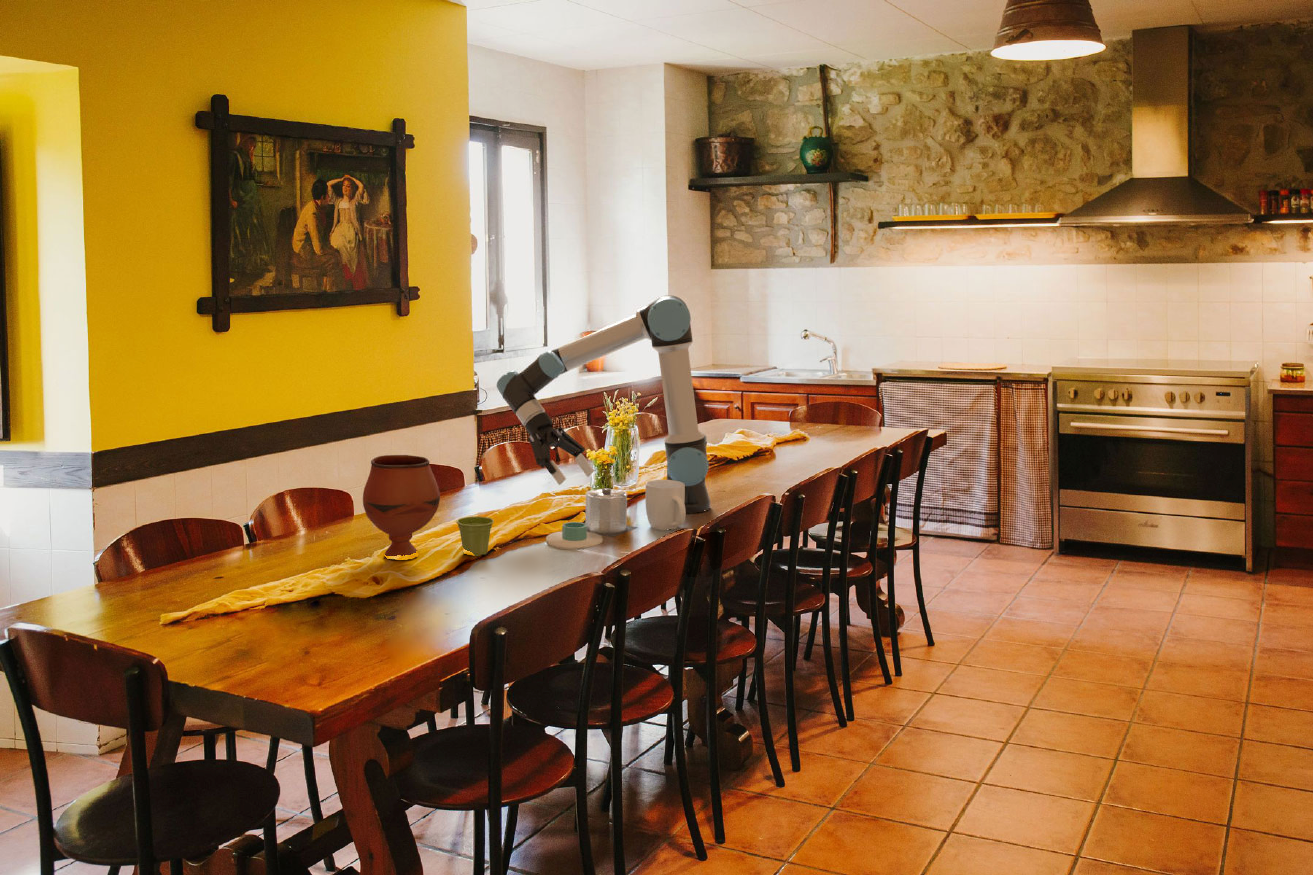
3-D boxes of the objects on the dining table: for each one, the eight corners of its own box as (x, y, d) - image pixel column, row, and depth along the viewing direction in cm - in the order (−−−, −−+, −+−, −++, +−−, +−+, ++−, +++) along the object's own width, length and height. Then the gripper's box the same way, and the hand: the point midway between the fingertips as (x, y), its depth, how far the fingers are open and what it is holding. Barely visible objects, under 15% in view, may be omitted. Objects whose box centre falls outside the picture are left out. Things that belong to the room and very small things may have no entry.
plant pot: (458, 548, 300) (458, 516, 299) (494, 548, 301) (494, 516, 300) (455, 558, 291) (454, 525, 290) (492, 558, 292) (492, 525, 291)
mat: (599, 522, 331) (599, 520, 331) (638, 529, 324) (638, 527, 324) (573, 531, 320) (573, 529, 320) (612, 539, 313) (612, 537, 313)
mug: (699, 534, 321) (700, 488, 318) (666, 539, 315) (667, 492, 312) (669, 522, 333) (670, 478, 331) (637, 526, 327) (638, 481, 325)
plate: (568, 531, 319) (568, 515, 319) (613, 540, 312) (613, 523, 311) (534, 543, 307) (535, 526, 306) (581, 552, 299) (581, 535, 298)
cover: (600, 521, 329) (601, 483, 327) (633, 527, 324) (634, 488, 322) (577, 529, 320) (578, 490, 318) (611, 535, 314) (612, 495, 312)
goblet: (414, 570, 280) (413, 470, 276) (347, 561, 286) (344, 462, 282) (454, 551, 298) (453, 456, 293) (390, 542, 304) (388, 449, 300)
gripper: (553, 422, 342) (594, 478, 337) (499, 433, 321) (542, 493, 316) (568, 406, 338) (610, 462, 333) (514, 416, 317) (558, 477, 312)
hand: (577, 477), depth 324 cm, fingers open, 13 cm apart
